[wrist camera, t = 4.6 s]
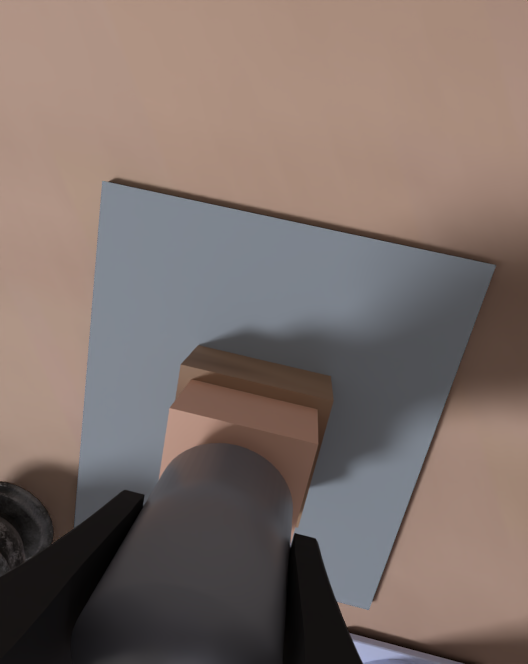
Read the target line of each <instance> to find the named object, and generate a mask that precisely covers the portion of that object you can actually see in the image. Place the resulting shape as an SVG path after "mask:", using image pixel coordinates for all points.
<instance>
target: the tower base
mask: <svg viewBox="0 0 528 664" xmlns="http://www.w3.org/2000/svg"><path fill="white" fill-rule="evenodd" d="M191 379H192V380H197V381H201V382H205V383H209V384H213V385H218V386H222V387H226V388H230V389H234V390H239V391H243V392H247V393H251V394H255V395H259V396H264V397H268V398H272V399H276V400H280V401H285V402H289V403H293V404H297V405H301V406H306V407H310V408H314V409H318V448H317V451H316V455H315V458H314V462H313V466H312V469H311V473H310V476H309V480H308V484H307V487H306V491H305V494H304V498H303V502H302V505H301V509H300V512H299V516H298V520H297V523H296V527H297V528H298V526H299V523H300V519H301V516H302V512H303V509H304V505H305V501H306V498H307V494H308V491H309V487H310V484H311V480H312V476H313V473H314V469H315V466H316V462H317V459H318V455H319V451H320V448H321V444H322V441H323V437H324V434H325V430H326V426H327V423H328V419H329V416H330V412H331V409H332V405H333V401H334V399H333V390H332V381H331V376H328V375H324V374H320V373H315V372H311V371H307V370H303V369H298V368H294V367H290V366H286V365H281V364H277V363H273V362H268V361H264V360H260V359H256V358H251V357H247V356H243V355H239V354H234V353H230V352H226V351H221V350H217V349H213V348H209V347H204V346H200V345H198V346H197V347H196V348H195V349H194V350H193V351H192V352H191V353H190V355H189V356H188V357H187V358H186V359H185V360H184V361H183V362H182V363H181V365H180V371H179V378H178V384H177V391H176V397H175V400H176V399H177V397H178V396H179V395H180V393H181V392H182V391H183V389H184V388H185V387H186V385H187V384H188V383H189V381H190V380H191Z"/></svg>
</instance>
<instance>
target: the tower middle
mask: <svg viewBox="0 0 528 664" xmlns="http://www.w3.org/2000/svg"><path fill="white" fill-rule="evenodd" d="M209 443H226V444H233V445H237V446H241V447H244V448H247V449H249V450H251V451H253V452H256V453H257V454H259V455H261V456H262V457H264V458H265V459H266V460H268V461H269V462H270V463H271V464H272V465H273V466H274V467H275V468H276V469H277V470H278V471H279V472H280V474H281V475H282V476H283V478H284V480H285V481H286V483H287V485H288V487H289V490H290V493H291V497H292V502H293V516H292V530H291V541H292V538H293V534H294V530H295V527H296V523H297V520H298V516H299V512H300V509H301V505H302V502H303V498H304V494H305V491H306V487H307V484H308V480H309V476H310V473H311V469H312V466H313V462H314V458H315V455H316V451H317V448H318V409H314V408H310V407H306V406H301V405H297V404H293V403H289V402H285V401H280V400H276V399H272V398H268V397H264V396H259V395H255V394H251V393H247V392H243V391H239V390H234V389H230V388H226V387H222V386H218V385H213V384H209V383H205V382H201V381H197V380H192V379H191V380H190V381H189V383H188V384H187V385H186V387H185V388H184V389H183V391H182V392H181V393H180V395H179V396H178V397H177V399H176V400H175V401H174V403H173V404H172V405H171V407H170V408H169V415H168V421H167V428H166V434H165V441H164V448H163V454H162V461H161V468H160V474H159V479H160V477H161V475H162V474H163V472H164V470H165V469H166V467H167V466H168V465H169V463H170V462H171V461H172V460H173V459H174V458H175V457H177V456H178V455H179V454H181V453H182V452H184V451H186V450H188V449H190V448H192V447H195V446H199V445H202V444H209Z"/></svg>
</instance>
